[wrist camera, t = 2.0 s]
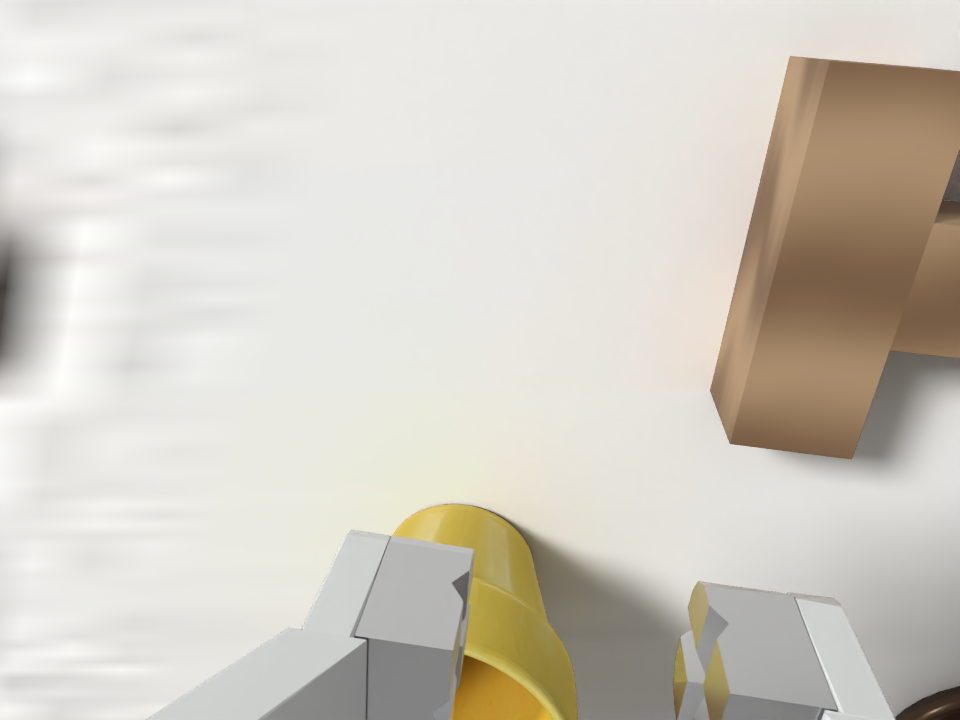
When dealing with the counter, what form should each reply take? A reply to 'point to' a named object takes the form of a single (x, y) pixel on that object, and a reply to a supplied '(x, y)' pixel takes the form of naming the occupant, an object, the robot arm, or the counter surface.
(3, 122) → the counter surface
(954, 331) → the t block
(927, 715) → the candlestick
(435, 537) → the plant pot
